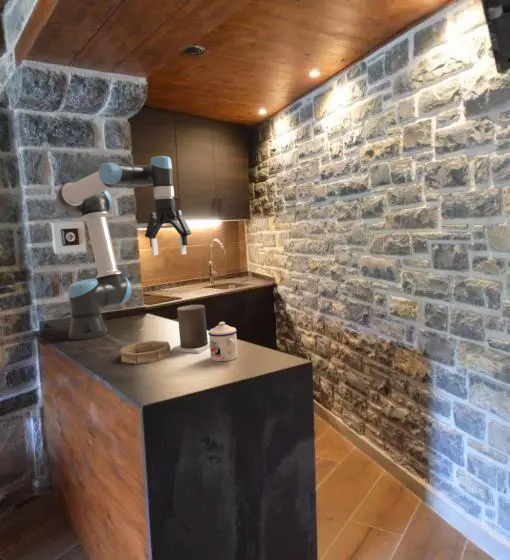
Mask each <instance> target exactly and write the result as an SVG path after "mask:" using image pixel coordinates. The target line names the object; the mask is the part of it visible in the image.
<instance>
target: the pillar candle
mask: <svg viewBox="0 0 510 560" xmlns="http://www.w3.org/2000/svg"><path fill="white" fill-rule="evenodd" d="M176 310H177V318H178V320H177V321H178V332H179V342H180V343H179V345H181V347H182V348H199V347H203V346H205V345H207V344H208V341H209V340H208V330H207V329H208V328H207V319H206V308H205V305H203V304H190V305H183V306H179V307H178V308H177V309H176Z"/></svg>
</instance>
